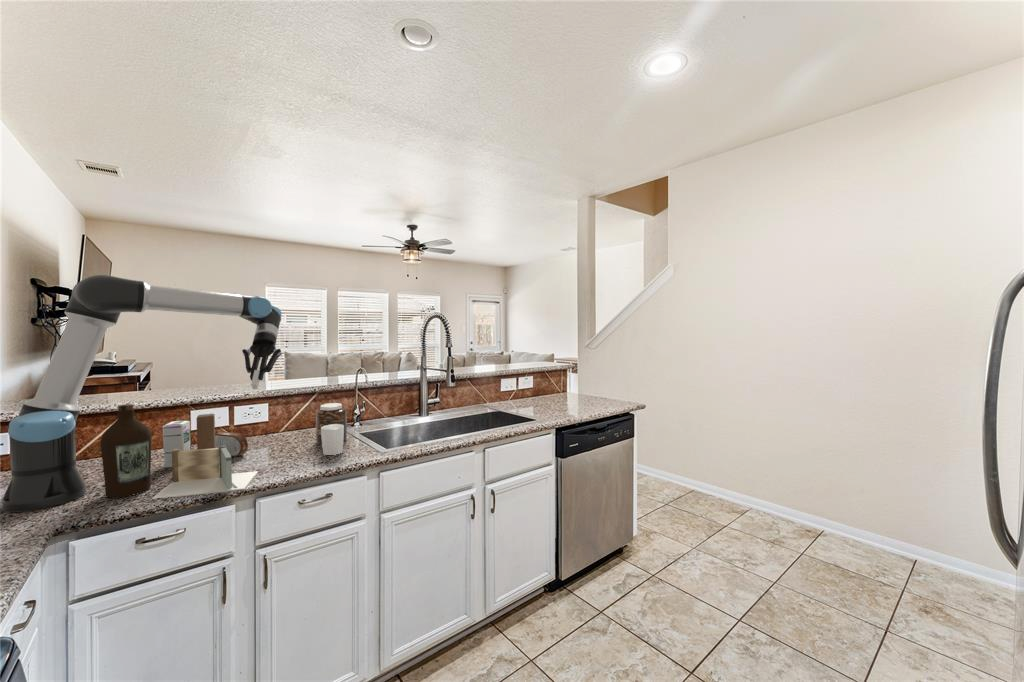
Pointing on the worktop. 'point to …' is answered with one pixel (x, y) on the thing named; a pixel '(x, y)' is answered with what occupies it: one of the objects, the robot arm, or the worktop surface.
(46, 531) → the worktop surface
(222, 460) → the hinged fence section
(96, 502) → the worktop surface
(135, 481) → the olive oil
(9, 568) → the worktop surface
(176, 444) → the syrup box
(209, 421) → the wooden block
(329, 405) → the jar
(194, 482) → the card
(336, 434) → the white cup
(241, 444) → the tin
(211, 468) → the fixed fence section
